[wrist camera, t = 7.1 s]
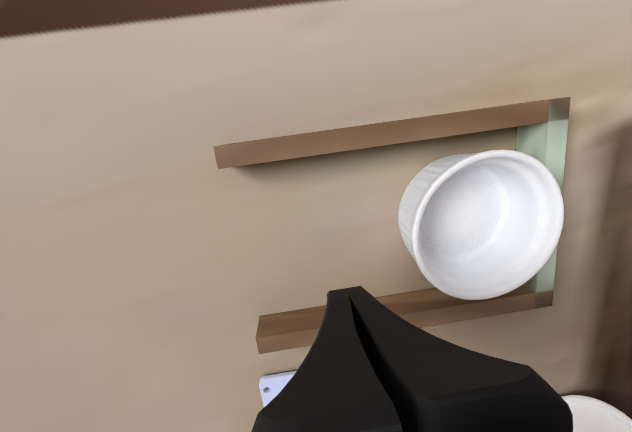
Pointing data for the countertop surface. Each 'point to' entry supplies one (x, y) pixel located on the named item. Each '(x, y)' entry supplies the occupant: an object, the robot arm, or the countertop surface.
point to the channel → (530, 119)
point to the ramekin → (481, 221)
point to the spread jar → (596, 415)
